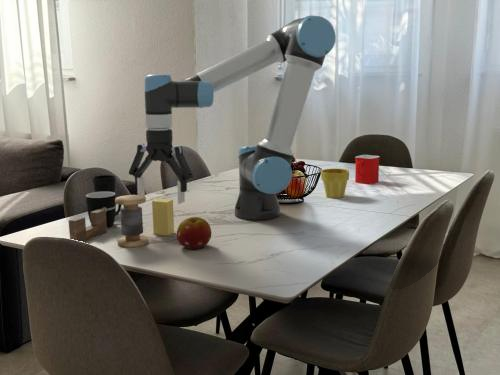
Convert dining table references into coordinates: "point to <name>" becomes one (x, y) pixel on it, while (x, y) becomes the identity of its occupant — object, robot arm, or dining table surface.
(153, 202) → the yellow block
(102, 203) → the mug
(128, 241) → the bobbin
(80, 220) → the notched board
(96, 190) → the cup
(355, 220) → the dining table surface
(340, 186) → the plant pot
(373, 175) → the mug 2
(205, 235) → the fruit
